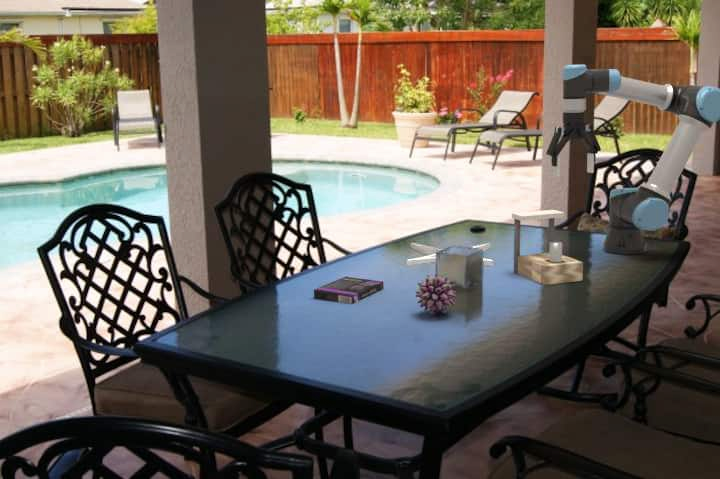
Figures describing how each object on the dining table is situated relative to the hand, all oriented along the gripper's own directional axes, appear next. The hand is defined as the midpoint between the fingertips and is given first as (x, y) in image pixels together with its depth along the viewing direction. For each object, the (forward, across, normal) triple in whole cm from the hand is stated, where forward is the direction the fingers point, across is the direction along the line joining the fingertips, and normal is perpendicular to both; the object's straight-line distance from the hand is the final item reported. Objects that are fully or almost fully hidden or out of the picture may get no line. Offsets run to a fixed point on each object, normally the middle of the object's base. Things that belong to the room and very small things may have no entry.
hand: (573, 174), depth 317 cm
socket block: (+31, +18, +14) cm, 38 cm away
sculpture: (+31, +33, -28) cm, 53 cm away
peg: (+31, +18, +17) cm, 40 cm away
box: (+30, +85, +5) cm, 90 cm away
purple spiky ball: (+30, +71, +37) cm, 85 cm away
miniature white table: (+31, +18, +6) cm, 36 cm away
